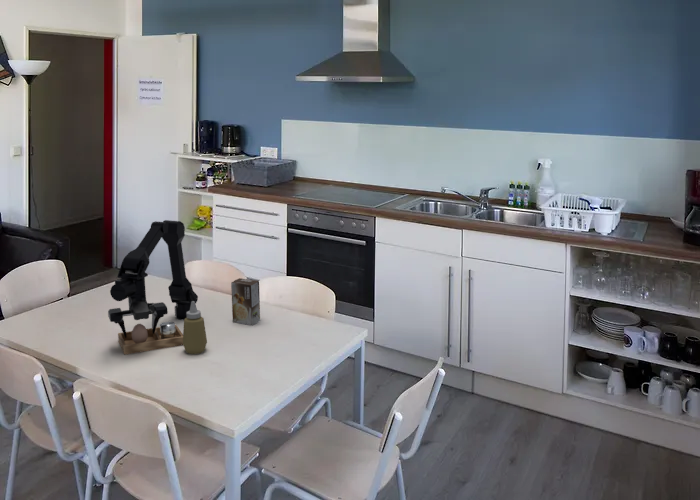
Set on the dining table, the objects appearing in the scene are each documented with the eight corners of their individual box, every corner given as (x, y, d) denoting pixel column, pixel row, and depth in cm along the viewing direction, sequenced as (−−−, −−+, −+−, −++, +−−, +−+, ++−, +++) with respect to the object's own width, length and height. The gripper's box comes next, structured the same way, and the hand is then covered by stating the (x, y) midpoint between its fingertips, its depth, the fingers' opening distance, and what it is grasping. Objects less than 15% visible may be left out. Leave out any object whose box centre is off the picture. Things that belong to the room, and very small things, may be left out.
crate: (176, 333, 237) (175, 324, 236) (184, 346, 226) (184, 336, 225) (118, 342, 228) (118, 333, 227) (124, 356, 217) (123, 346, 216)
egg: (135, 348, 222) (133, 327, 220) (130, 343, 226) (128, 323, 224) (150, 344, 225) (149, 324, 223) (145, 340, 229) (144, 320, 227)
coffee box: (261, 320, 252) (260, 280, 248) (252, 326, 246) (251, 285, 242) (240, 317, 255) (239, 277, 251) (231, 322, 249) (230, 282, 245)
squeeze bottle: (185, 347, 225) (182, 298, 220) (209, 347, 225) (207, 297, 221) (181, 357, 217) (178, 305, 213) (205, 356, 218) (203, 305, 213)
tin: (174, 336, 233) (173, 320, 231) (177, 341, 228) (176, 325, 227) (159, 338, 231) (158, 322, 229) (162, 343, 226) (161, 327, 225)
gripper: (111, 302, 209) (114, 348, 213) (169, 295, 218) (172, 339, 222) (106, 293, 219) (109, 336, 223) (162, 286, 227) (165, 328, 231)
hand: (139, 335), depth 224 cm, fingers open, 9 cm apart
